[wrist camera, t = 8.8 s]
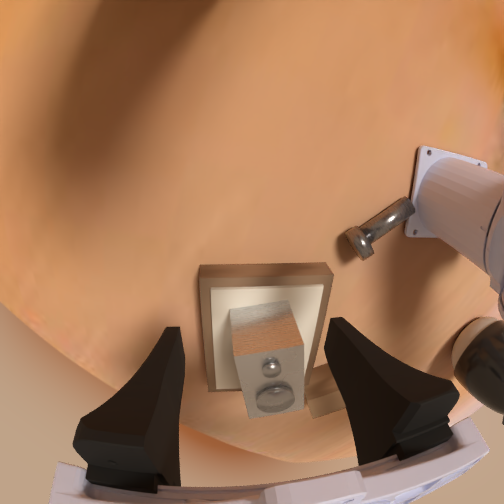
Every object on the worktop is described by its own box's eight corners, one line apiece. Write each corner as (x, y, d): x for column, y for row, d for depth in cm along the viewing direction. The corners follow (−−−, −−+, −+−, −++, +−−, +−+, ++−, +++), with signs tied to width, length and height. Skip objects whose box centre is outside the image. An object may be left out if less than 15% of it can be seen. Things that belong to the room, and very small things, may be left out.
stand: (325, 262, 24) (335, 276, 22) (304, 371, 29) (309, 387, 27) (200, 264, 23) (198, 280, 21) (208, 377, 28) (208, 394, 26)
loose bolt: (398, 189, 22) (415, 195, 19) (410, 215, 23) (426, 223, 20) (341, 228, 23) (352, 238, 20) (355, 254, 24) (367, 266, 21)
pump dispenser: (434, 372, 34) (482, 449, 21) (450, 320, 30) (519, 405, 16) (481, 347, 34) (530, 411, 21) (499, 295, 30) (564, 361, 16)
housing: (287, 299, 22) (306, 349, 17) (291, 365, 25) (305, 413, 21) (229, 309, 22) (234, 362, 17) (243, 374, 25) (249, 423, 20)
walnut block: (333, 360, 29) (345, 387, 26) (337, 380, 31) (348, 406, 28) (298, 372, 30) (307, 401, 26) (304, 391, 31) (312, 418, 28)
